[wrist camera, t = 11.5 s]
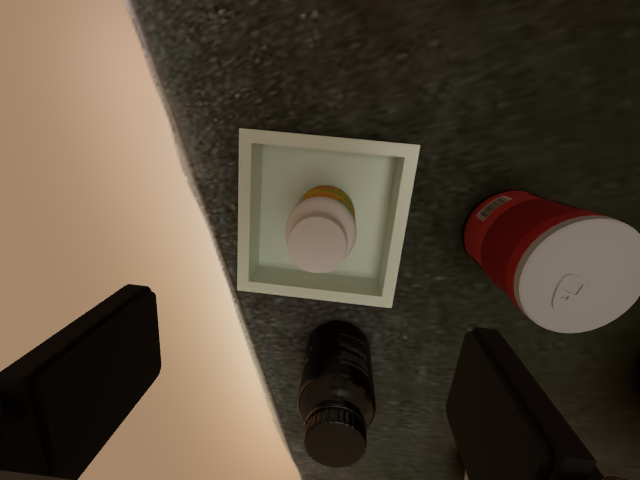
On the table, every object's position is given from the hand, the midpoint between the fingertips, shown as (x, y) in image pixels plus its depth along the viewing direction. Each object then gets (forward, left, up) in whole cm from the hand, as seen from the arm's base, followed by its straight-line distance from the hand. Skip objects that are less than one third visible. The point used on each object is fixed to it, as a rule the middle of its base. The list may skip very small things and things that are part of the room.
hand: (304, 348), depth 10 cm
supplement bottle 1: (+1, -1, -22) cm, 22 cm away
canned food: (+1, +16, -23) cm, 28 cm away
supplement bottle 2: (+16, +2, -23) cm, 28 cm away
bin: (+1, -1, -23) cm, 23 cm away
